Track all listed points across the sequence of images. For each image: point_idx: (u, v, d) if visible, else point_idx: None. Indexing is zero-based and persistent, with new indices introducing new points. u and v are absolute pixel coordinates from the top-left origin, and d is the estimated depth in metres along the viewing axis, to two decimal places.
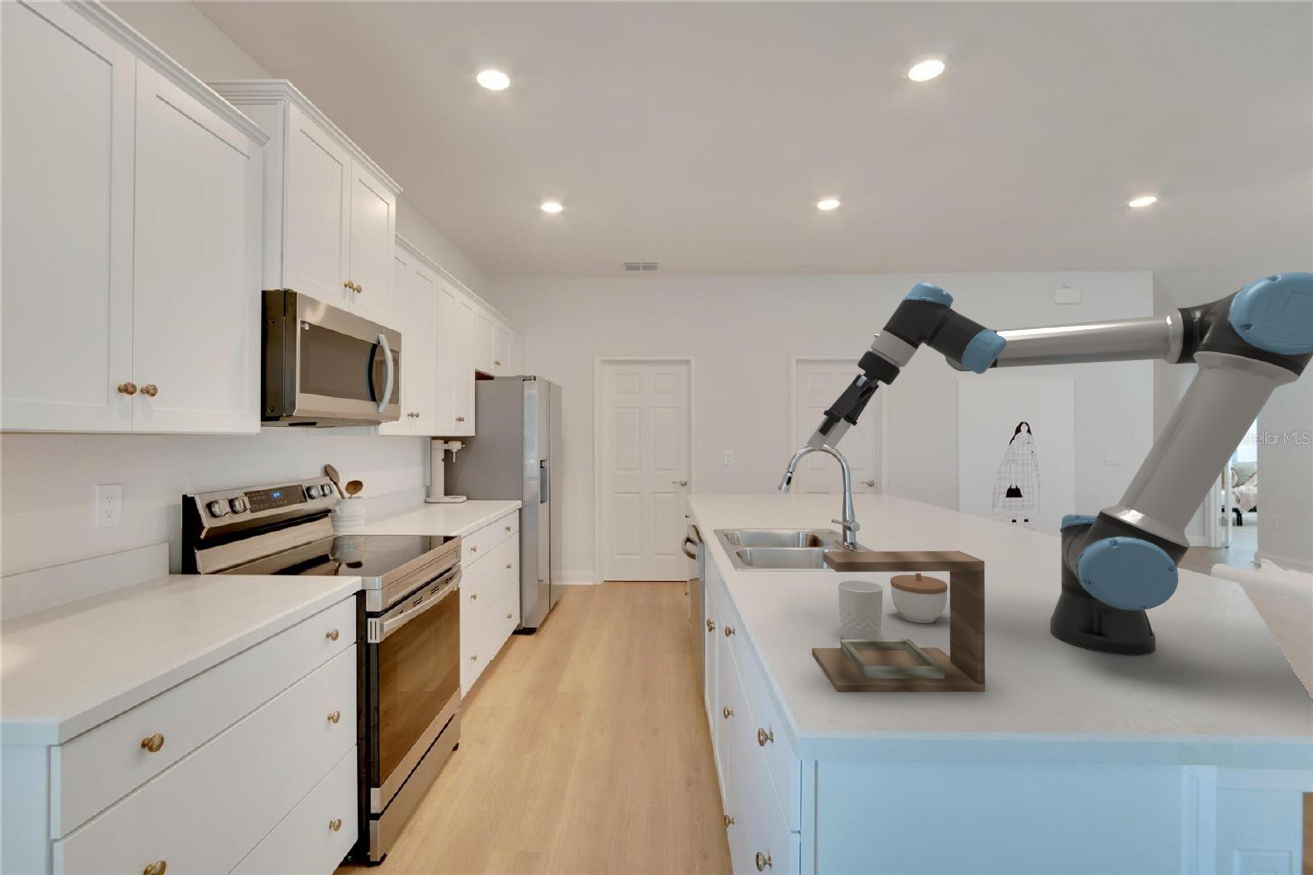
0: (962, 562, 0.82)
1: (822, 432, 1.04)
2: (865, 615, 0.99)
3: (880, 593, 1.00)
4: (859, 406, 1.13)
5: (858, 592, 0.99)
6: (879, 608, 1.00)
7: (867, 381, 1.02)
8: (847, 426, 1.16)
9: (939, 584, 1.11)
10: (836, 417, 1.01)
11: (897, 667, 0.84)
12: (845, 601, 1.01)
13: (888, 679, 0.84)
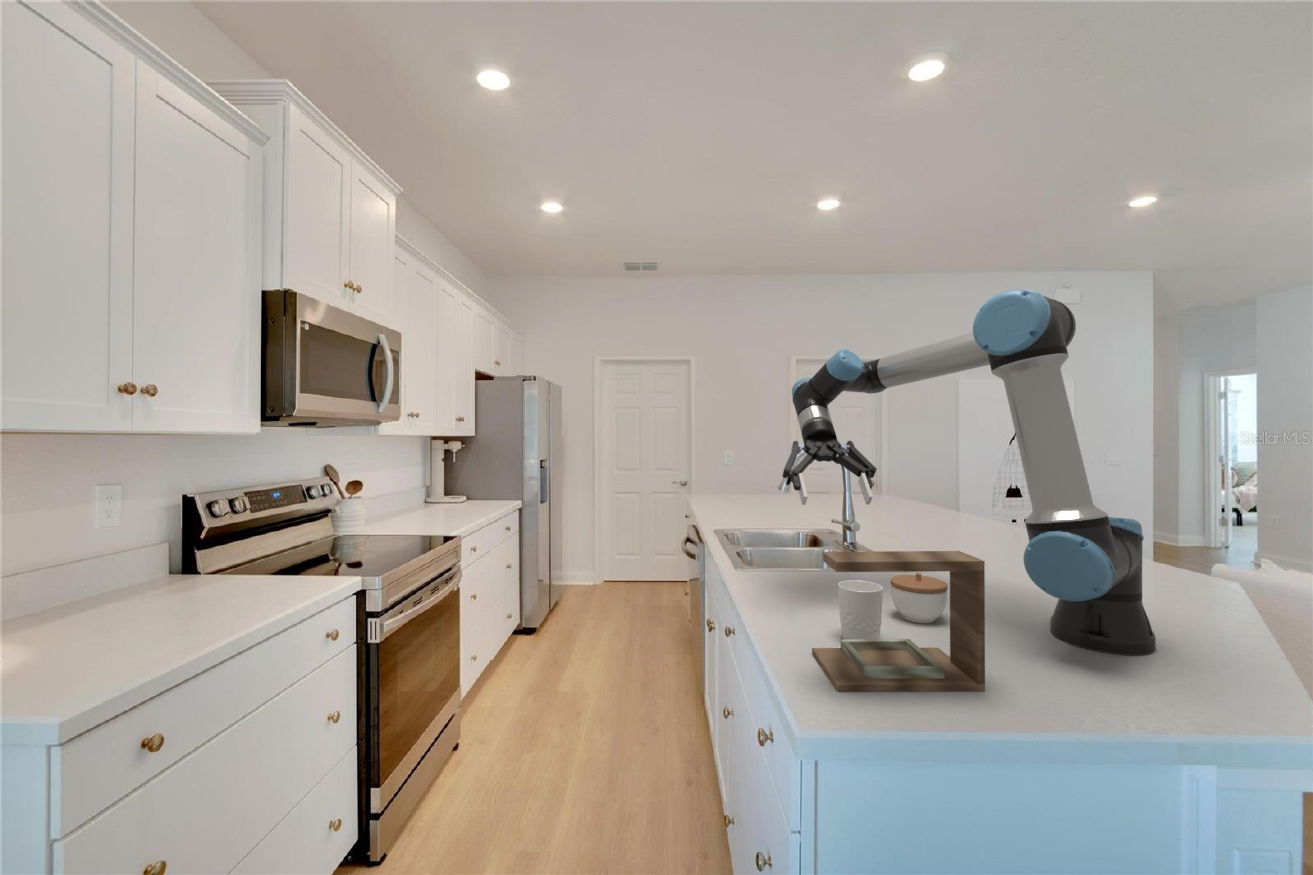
0: (962, 562, 0.82)
1: (795, 487, 1.18)
2: (865, 615, 0.99)
3: (880, 593, 1.00)
4: (844, 459, 1.22)
5: (858, 592, 0.99)
6: (879, 608, 1.00)
7: (793, 442, 1.26)
8: (861, 476, 1.19)
9: (939, 584, 1.11)
10: (784, 470, 1.20)
11: (897, 667, 0.84)
12: (845, 601, 1.01)
13: (888, 679, 0.84)
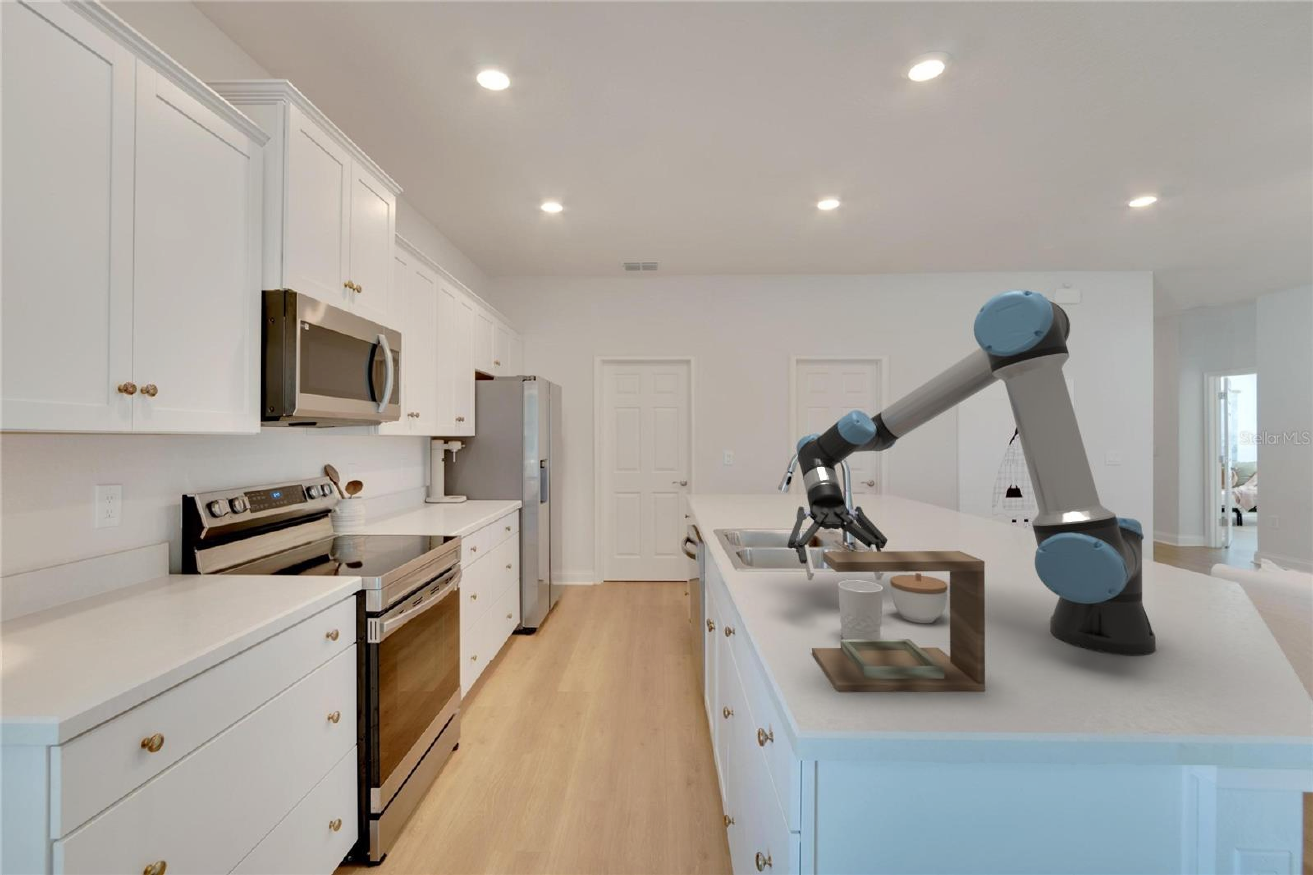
0: (962, 562, 0.82)
1: (800, 560, 1.11)
2: (865, 615, 0.99)
3: (880, 593, 1.00)
4: (853, 528, 1.15)
5: (858, 592, 0.99)
6: (879, 608, 1.00)
7: (798, 508, 1.19)
8: (871, 548, 1.12)
9: (939, 584, 1.11)
10: (789, 541, 1.13)
11: (897, 667, 0.84)
12: (845, 601, 1.01)
13: (888, 679, 0.84)
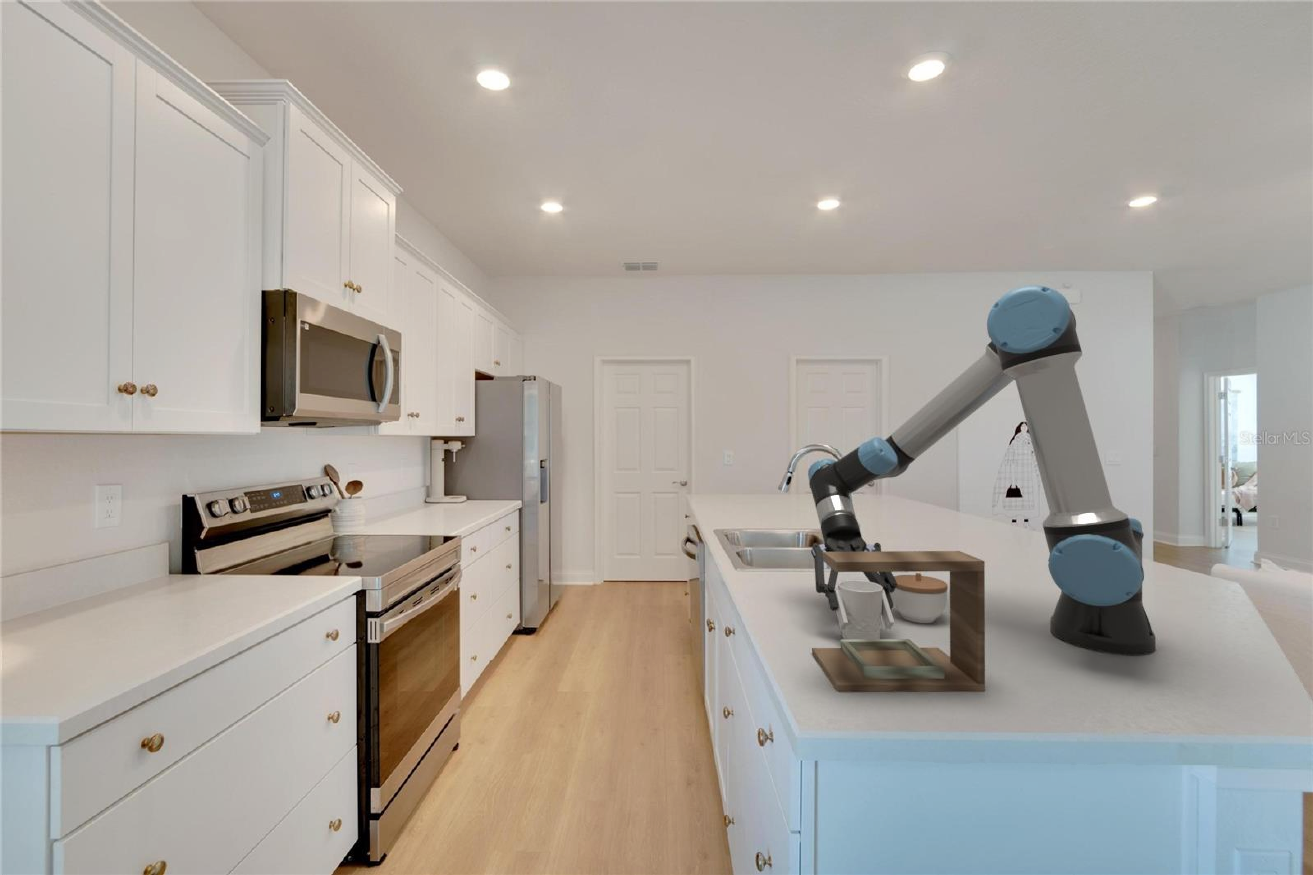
0: (962, 562, 0.82)
1: (831, 607, 1.02)
2: (865, 614, 0.99)
3: (880, 593, 1.00)
4: None
5: (858, 592, 0.99)
6: (879, 608, 1.00)
7: (813, 546, 1.10)
8: None
9: (939, 584, 1.11)
10: (818, 585, 1.04)
11: (897, 667, 0.84)
12: (845, 601, 1.01)
13: (888, 679, 0.84)
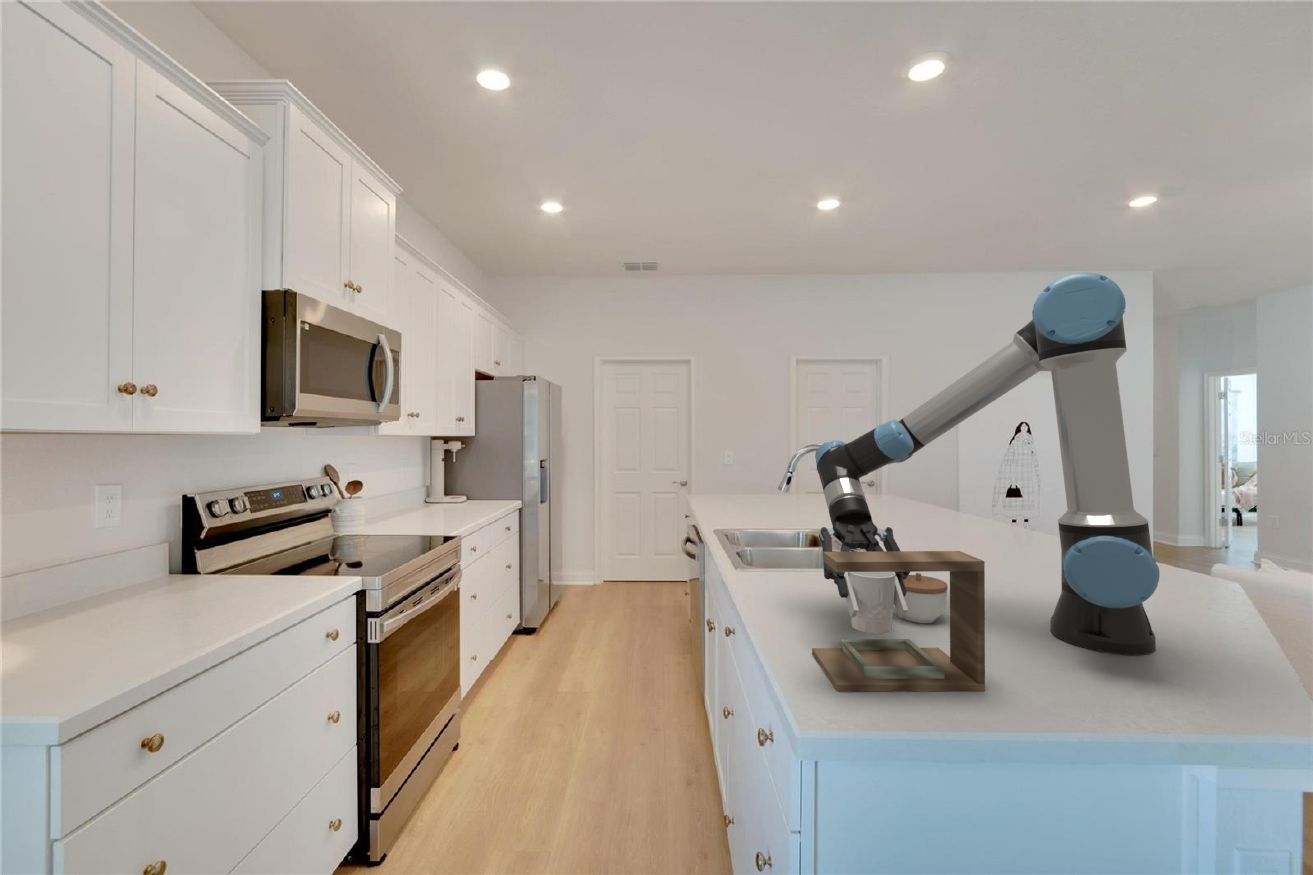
0: (962, 562, 0.82)
1: (841, 594, 0.96)
2: (877, 602, 0.93)
3: (893, 579, 0.94)
4: None
5: (869, 578, 0.93)
6: (892, 595, 0.94)
7: (821, 530, 1.04)
8: None
9: (939, 584, 1.11)
10: (827, 571, 0.98)
11: (897, 667, 0.84)
12: (856, 587, 0.95)
13: (888, 679, 0.84)
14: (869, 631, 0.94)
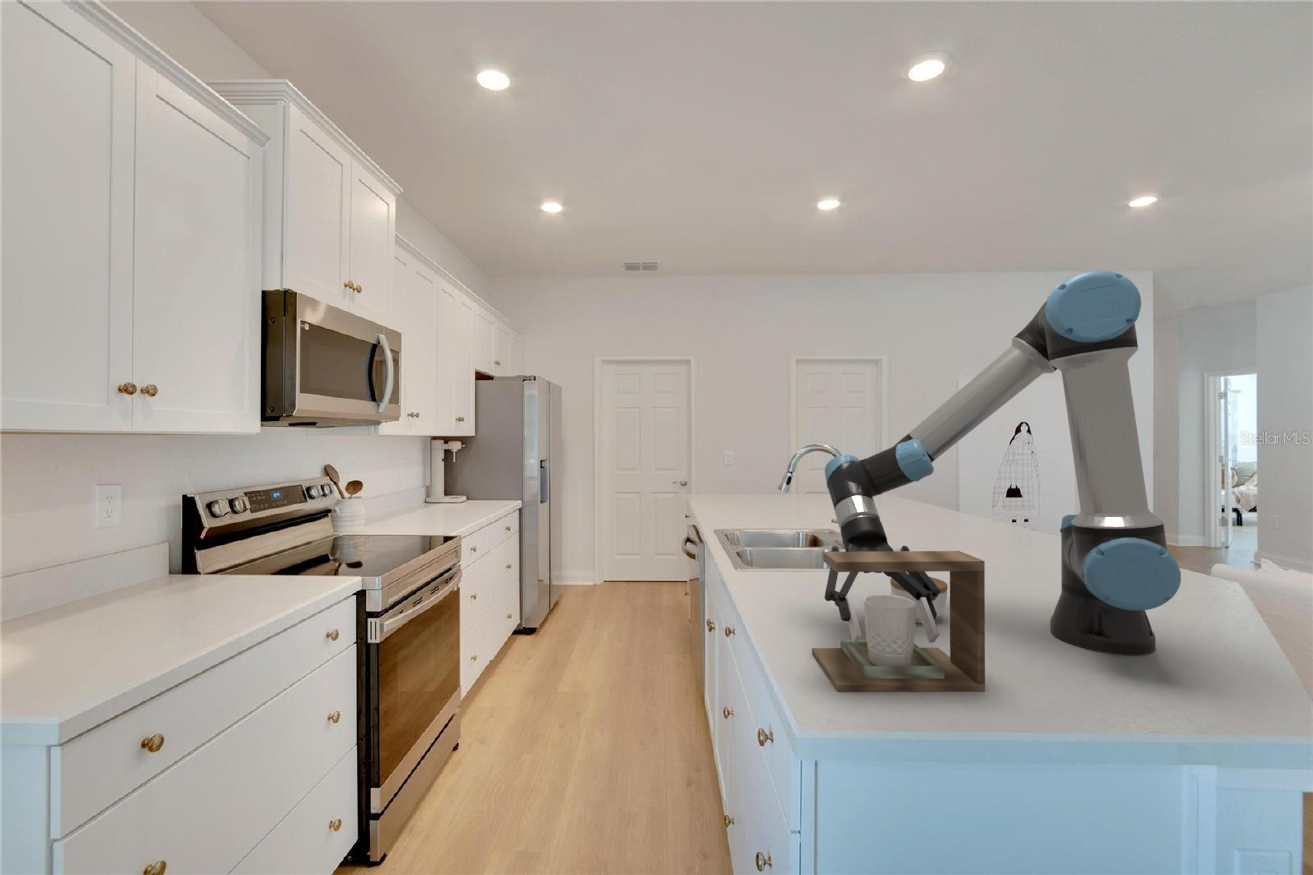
0: (962, 562, 0.82)
1: (842, 617, 0.90)
2: (897, 635, 0.86)
3: (913, 610, 0.87)
4: (898, 574, 0.94)
5: (888, 609, 0.86)
6: (912, 628, 0.87)
7: (831, 549, 0.98)
8: (921, 602, 0.90)
9: (939, 584, 1.11)
10: (827, 593, 0.92)
11: (897, 667, 0.84)
12: (873, 619, 0.88)
13: (888, 679, 0.84)
14: None
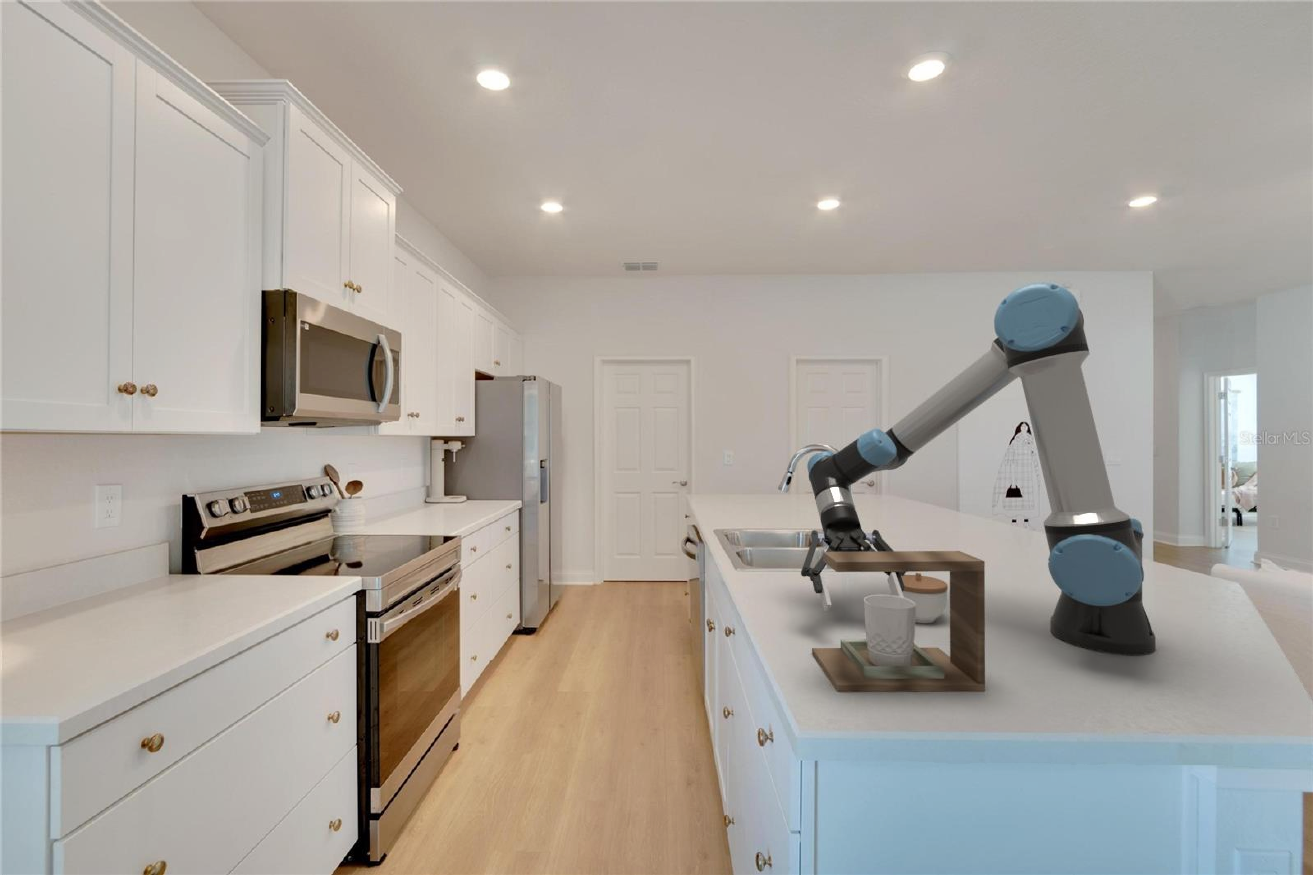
0: (962, 562, 0.82)
1: (816, 589, 1.03)
2: (897, 635, 0.86)
3: (913, 610, 0.87)
4: None
5: (888, 609, 0.86)
6: (912, 628, 0.87)
7: None
8: (891, 576, 1.04)
9: (939, 584, 1.11)
10: (803, 569, 1.05)
11: (897, 667, 0.84)
12: (873, 619, 0.88)
13: (888, 679, 0.84)
14: None
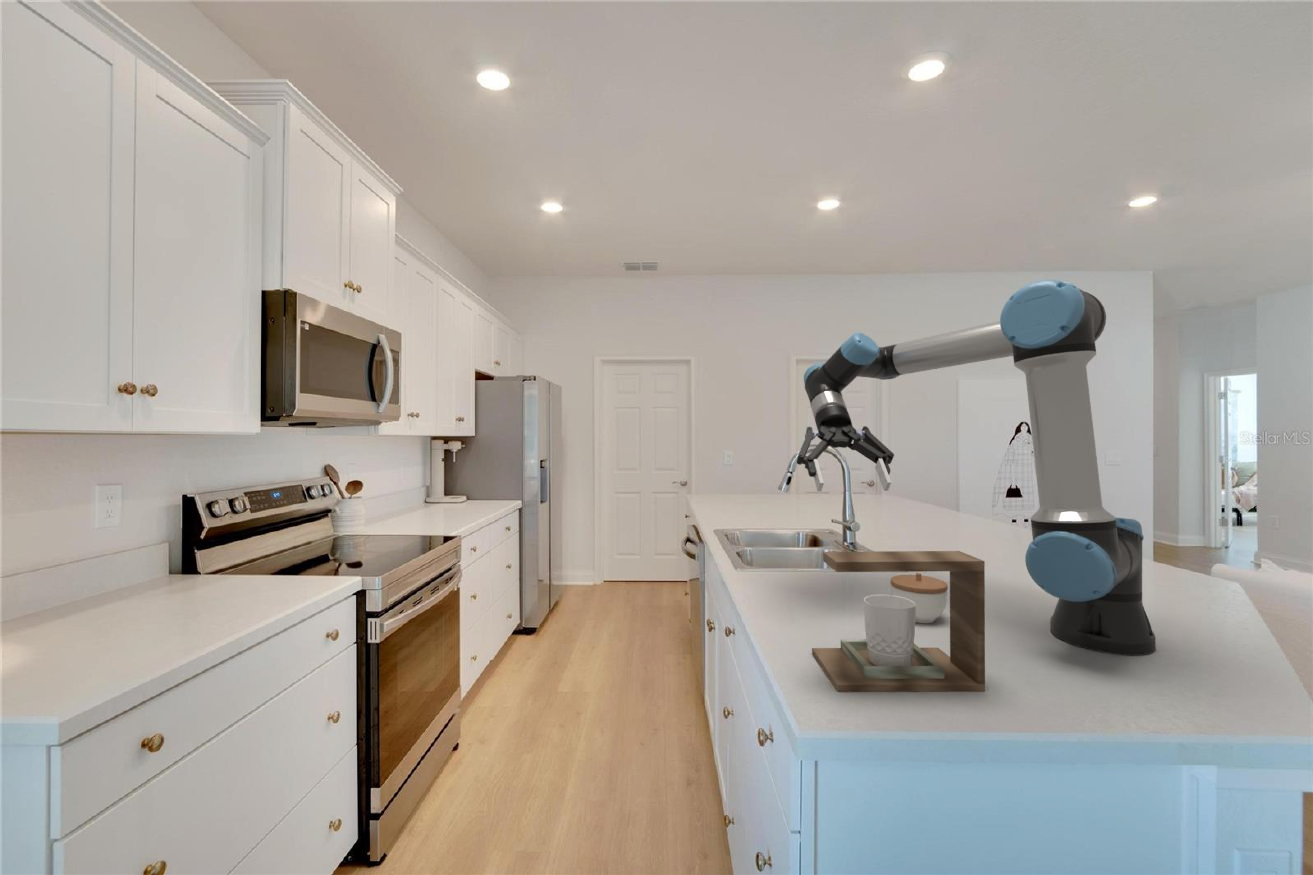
0: (962, 562, 0.82)
1: (810, 473, 1.14)
2: (897, 635, 0.86)
3: (913, 610, 0.87)
4: (860, 445, 1.18)
5: (888, 609, 0.86)
6: (912, 628, 0.87)
7: None
8: (879, 462, 1.15)
9: (939, 584, 1.11)
10: (798, 456, 1.16)
11: (897, 667, 0.84)
12: (873, 619, 0.88)
13: (888, 679, 0.84)
14: None
